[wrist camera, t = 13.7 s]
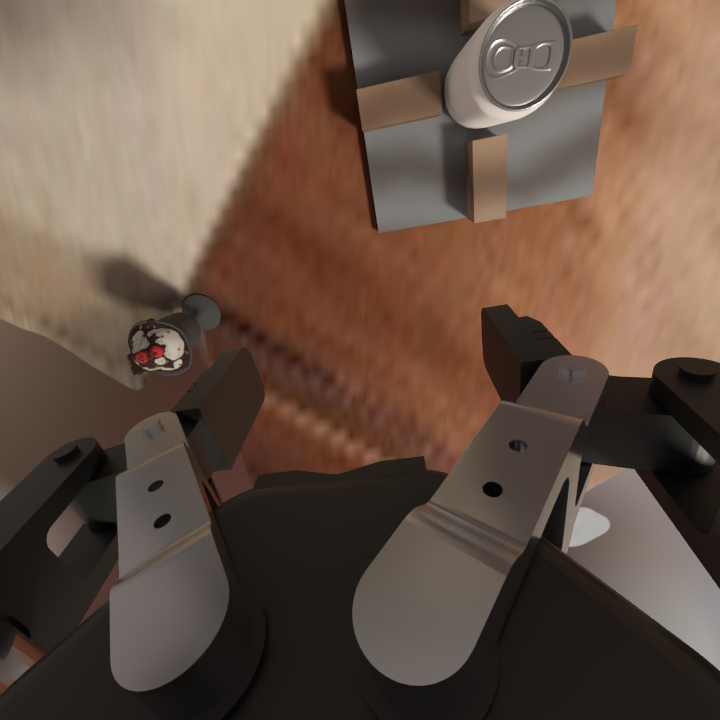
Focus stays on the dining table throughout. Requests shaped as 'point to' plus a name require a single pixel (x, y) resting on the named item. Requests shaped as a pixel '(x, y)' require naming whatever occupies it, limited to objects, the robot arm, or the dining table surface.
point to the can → (509, 64)
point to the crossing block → (465, 145)
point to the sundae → (171, 337)
